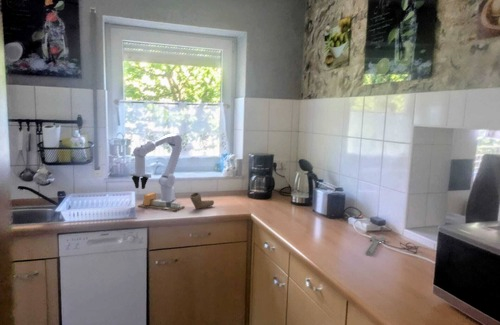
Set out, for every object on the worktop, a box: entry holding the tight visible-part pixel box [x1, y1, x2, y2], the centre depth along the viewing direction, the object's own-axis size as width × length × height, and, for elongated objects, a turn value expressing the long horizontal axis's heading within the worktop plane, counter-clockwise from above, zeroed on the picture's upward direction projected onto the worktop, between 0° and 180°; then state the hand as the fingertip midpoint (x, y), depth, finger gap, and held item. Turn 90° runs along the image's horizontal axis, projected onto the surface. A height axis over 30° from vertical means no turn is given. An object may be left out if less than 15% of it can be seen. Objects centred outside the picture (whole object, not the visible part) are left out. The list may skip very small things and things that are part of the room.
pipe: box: [189, 192, 215, 210], centre depth 211 cm, size 6×17×10 cm, turn 133°
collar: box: [143, 192, 157, 205], centre depth 212 cm, size 3×8×6 cm, turn 161°
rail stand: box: [137, 198, 185, 213], centre depth 210 cm, size 26×10×4 cm, turn 71°
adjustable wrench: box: [365, 235, 387, 257], centre depth 154 cm, size 25×6×2 cm, turn 145°
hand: (140, 188), depth 214 cm, fingers open, 4 cm apart
